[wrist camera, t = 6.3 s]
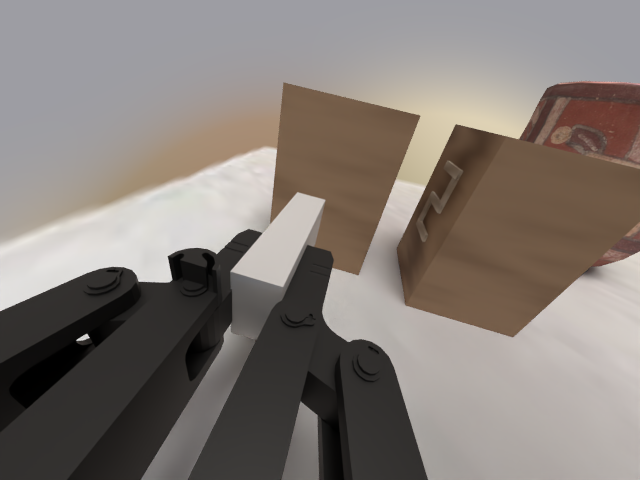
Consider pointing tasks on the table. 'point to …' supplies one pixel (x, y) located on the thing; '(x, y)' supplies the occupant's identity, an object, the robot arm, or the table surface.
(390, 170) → the brown wooden block
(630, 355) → the table surface
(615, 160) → the pottery
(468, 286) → the walnut block marked 2
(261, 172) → the table surface
